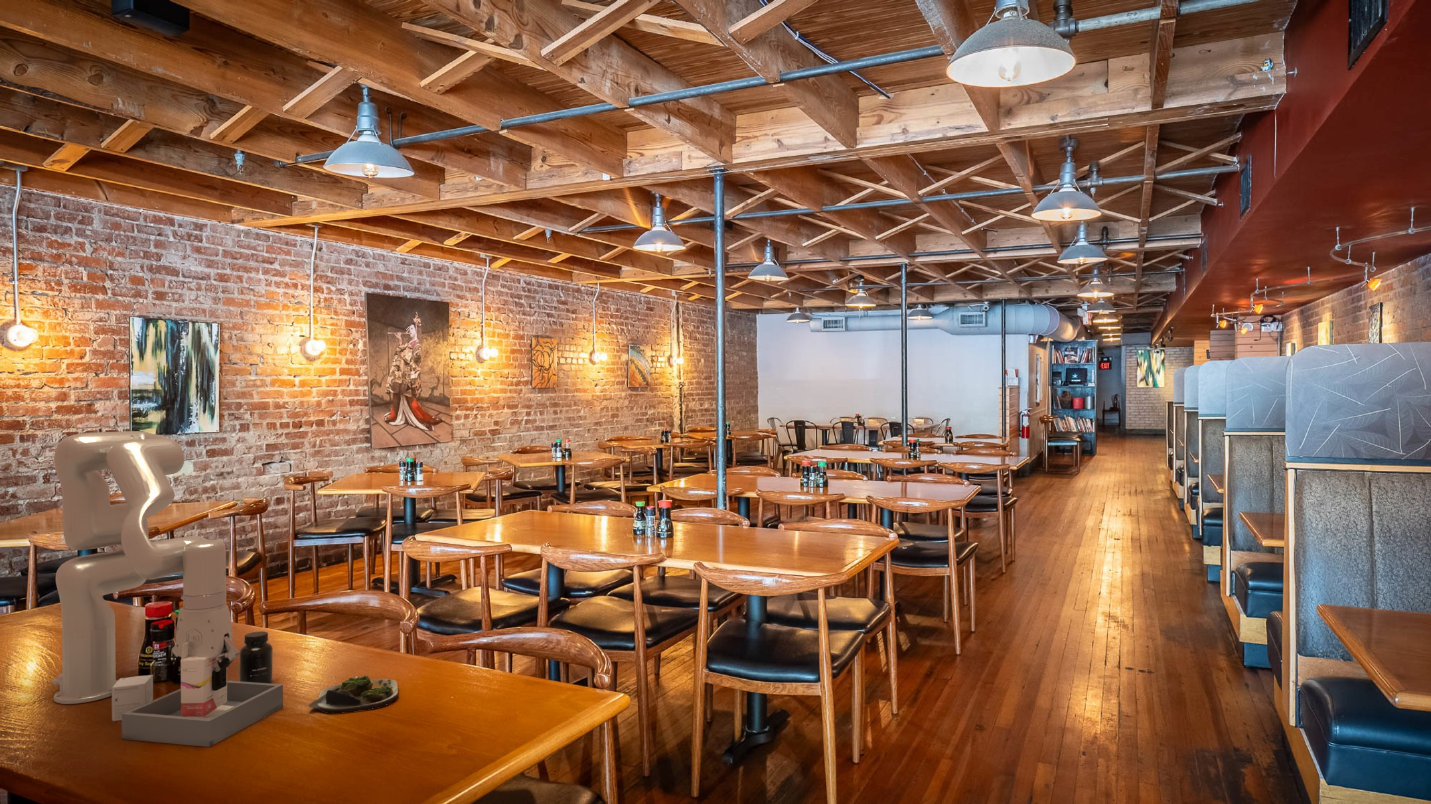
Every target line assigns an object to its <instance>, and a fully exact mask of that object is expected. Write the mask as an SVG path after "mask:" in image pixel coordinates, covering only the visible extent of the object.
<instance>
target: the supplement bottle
mask: <svg viewBox="0 0 1431 804" xmlns="http://www.w3.org/2000/svg"><path fill="white" fill-rule="evenodd" d="M268 641H269V634H268V631H254V632H253V631H252V632H248V633H246V634H245V635H244V640H243V644H245V645H243V646H241V648H240V649H239V652H240V653H239V655H238V656H239V658H238V660H239V664H238V666H239V667H238V671H239V672H238V681H240V682H254V683H268V684H272V682H273V662H274V661H273V658H274V657H273V656H274V655H273V654H274V653H273V651H274V650H273V645H271V643H268Z"/></svg>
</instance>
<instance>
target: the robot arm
mask: <svg viewBox="0 0 1431 804" xmlns="http://www.w3.org/2000/svg"><path fill="white" fill-rule="evenodd" d="M53 463H54V469H55V472H56V476H57V478H58V481H59V483H60V487H61V493H62V494H61V495H62V496H61V497H62V529H63V530H62V531H63V540H64V542H65V544H66V546H67V547H68V548H69V549H72V550H75V551H84V550H93V549H94V550H95V549H99V548H106V547H113V546H116V548H117V550H113V551H106V552H99V553H93V554H87V555H81V556H77V557H74V558H70V559H69V560H67V561H65V562H64V563H62V564H61V565H60V566H59V567H58V569H57V570H56V573H55V585H56V588H57V593H58V597H59V602H60V603H59V604H60V610H61V632H62V634H61V635H62V636H61V638H62V641H61V643H62V644H61V645H62V647H61V648H62V653H61V655H62V672H61V673H59V674H57V677H56V678H52V681H51V684H52V685H56V686H59V691H57V692H56V693H55V694H54V695H53V700H54V702H56V704H57V703H58V704H63V705H73V704H74V705H75V704H84V703H90V702H94V701H100V700H102V699H106V698H110V697H112V687H113V686H114V685H115V684H116V683H117V682H118V680H119V679H116V678H117V677H116V676H117V675H116V617H115V616H116V615H115V611H114V609H113V608H112V606H111V605H110V604H109V603H108V602H107V601H106V600H105V599H104V596H106V595H109V594H113V593H118V592H124V591H127V590H132V589H135V588H136V589H137V588H139V587H140V586H142V585H144V583H146V581H147V580H156V579H161V578H162V579H163V578H165V577H166V578H167V577H171V576H175V575H181V574H182V585H183V586H182V589H183V590H182V595H181V597H180V600H181V601H183V602H182V603H183V607H181V608H180V609H179V613H178V617H177V623H176V630H175V631H176V632H175V644H174V646H173V647H172V648H171V652H172V653H173V655H174V656H175V657H176V658H177V660H178V662H179V663H180V664H181V656H182V646H183V644H185V643H187V642H189V646H188V657H205V658H208V659H212V663H213V666H214V670H215V671H213V672H212V690H213V691H216V690H219V689H221V688H223V687H225V686H226V685H227V681H228V672H227V673H226V668H227V669H228V668H229V667H230V665H231V664H232V662H234V660H235V659H236V658H237V657H238V656H239V653H240V649H238V647H237V646H236V645H235V644H234V643H233V642H234V641H233V638H234V637H233V625H232V618H231V612H230V608H229V606H228V605H227V558H226V557H227V551H226V549H227V548H226V544H225V543H224V542H223V541H222V540H218V539H207V538H205V537H203V536H201V535H200V536H199V535H189V536H183V537H176V538H175V537H174V538H170V539H162V540H157V541H151V540H150V538H149V537H150V536H149V522H148V519H149V518H151V517H153V516H154V515H156V514H157V513H160V512H161V511H164V509H166V508H168V506H170V505H171V504H172V502H173V501H174V499H175V496H176V495H175V491H174V488H173V487H172V485H171V484H170V482H169V480H168V478H167V475H168V476H169V475H175V474H177V473H178V472H180V471H181V470H182V468H183V467H184V465H185V454H184V451H183V448H182V447H181V446H180V444H178V442H177V441H175V440H174V439H172V438H170V437H167V436H163V435H159V434H155V433H151V432H146V431H139V430H136V431H135V430H132V431H131V430H129V431H128V430H127V431H125V430H124V431H98V432H86V433H85V432H84V433H83V432H82V433H76V434H72V435H69V436H66V437H64V438H63V439H61V440H60V441H59V443H58V444H57V446H56V447H55V450H54V456H53ZM100 470H101V471H102V470H109V471H110V472H111V475H112V477H113V479H114V480H115V483H116V484H117V487H118V489H119V490H120V492H121V494H122V497H123V498H124V500H125V502H126V503H125V502H124V503H115V504H111V500H110V493H111V491H110V485H109V484H108V482H107V480H106V479H105V478H104V476H102V475H101V474H100V473H99V472H98V471H100ZM226 653H227V654H226ZM219 657H220V659H221V662H219V659H218V658H219Z"/></svg>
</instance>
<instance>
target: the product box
mask: <svg viewBox="0 0 1431 804" xmlns="http://www.w3.org/2000/svg"><path fill="white" fill-rule="evenodd" d="M117 680H118V682H117V683H116V684H115V685H114V686H113V687H112V696H111V721H112V722H116V721H117V722H119V721H122V714H123V713H125V712H127V711H130V710H132V709H134V708H137V707H139V706H141V705H144V704H146V703H148V702H151V701H153V700H154V675H153V674H151V675H150V674H148V675H138V676H137V675H136V676H130V677H120V678H119V679H117Z"/></svg>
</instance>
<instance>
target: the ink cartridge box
mask: <svg viewBox="0 0 1431 804" xmlns="http://www.w3.org/2000/svg"><path fill="white" fill-rule="evenodd" d="M188 646H189V642H187V643H185V644H183V646H182V656H181V663H180V689H181V717H201V716H206V715H207V714H209V713H210V712H212V711H213V710H215V709H216V708H218V707H219V706H221V705H223V704H224V703H226V702H227V685H226V686H225V687H223V688H221V689H219V690H216V691H213V690H212V672H213V671H215V670H214V666H213V663H212V659H208V658H205V657H188ZM226 654H227V655H228V653H226ZM218 659H219V662H221V659H220V657H219V658H218ZM226 673H227V674H228V667H227V668H226Z"/></svg>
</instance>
